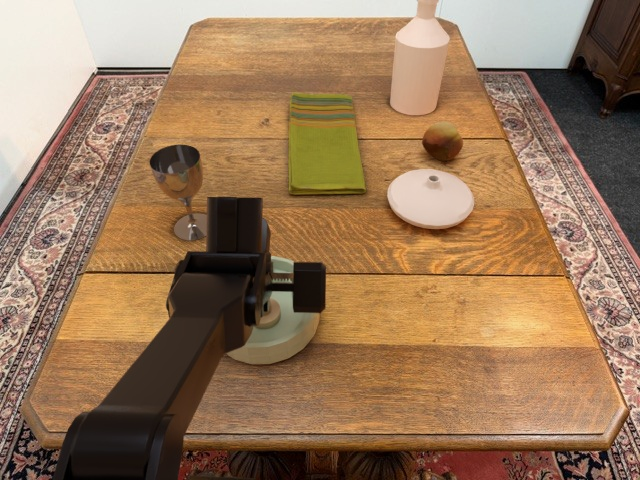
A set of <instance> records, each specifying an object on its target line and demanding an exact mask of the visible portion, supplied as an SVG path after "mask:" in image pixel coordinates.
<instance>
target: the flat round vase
mask: <svg viewBox="0 0 640 480" xmlns="http://www.w3.org/2000/svg"><path fill="white" fill-rule="evenodd" d="M386 195H387V196H386V197H387V200H388V203H389V206H390V208H391V210H392V211H393V212H394V214H395V215H396V216H398V217H399V218H400V219H401V220H403V221H404V222H406V223H408V224H410V225H412V226H414V227H415V226H416V227H419V228H422V229H432V230H440V229H442V230H443V229H449V228H452V227H455V226H457V225H459V224H461V223H462V222H464V221H465V220H466V219H467V217H469V215H470V214H471V213H472V212H473V210H474V208H475V207H474V206H475V198H474V194H473V192H472V191H471V189H470V187H469V186H468V185H467V184H466V183H465V182H464V181H463V180H462V179H461V178H459V177H457V176H455V175H453V174H452V173H449V172H446V171H442V170H439V169H431V168H420V169H413V170H409V171H406V172H404V173H402V174H400V175H398V176H396V178H395V179H393V180H392V181H391V182H390V184H389V185H388V188H387V193H386Z"/></svg>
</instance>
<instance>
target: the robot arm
mask: <svg viewBox="0 0 640 480" xmlns="http://www.w3.org/2000/svg"><path fill="white" fill-rule="evenodd" d="M263 208H264V198H263V197H244V196H243V197H238V196H207V197H206V215H207V227H206V236H205V244H206V245H205V251H201V250H200V251H199V250H187V252H186V254H185V256H184V259H180V260H178V262H177V263H176V264H175V267H174V271H173V272H174V274H173V275H174V276H173V278H172V282H171V284H170V288H169V292H168V293H167V297H166V302H165V309H166V312H167V314H168V320H167V321H166V322H165V323H164V324H163V326H162V327H161V328H160V330H158V332H157V333H156V334H155V336H154V337H153V338H152V339H151V341H149V343H148V344H147V345H146V346H145V348H144V349H143V350H142V351H141V353H140V354H139V355H138V356H137V357H136V359H135V360H134V361H133V362H132V364H131V365H130V366H129V367H128V369H127V370H126V371H125V372H124V373H123V374H122V376H121V377H120V378H119V380H118V381H117V382H116V383H115V385H113V387H112V388H111V390H109V392H108V393H107V394H106V395H105V396H104V398H103V399H102V400H101V401H100V403H99V404H98V405H96V407H94V408H92V409H91V410H88V411H86V410H85V411H81V412H80V413H79V414H78V415H76V416H75V417H74V419H73V420H72V422H71V424H70V425H69V426H68V429H67V431H66V433H65V436H64V438H63V441H62V444H61V447H60V451H59V455H58V459H57V462H56V466H55V469H54V472H53V476H52V479H51V480H179V475H180V471H181V470H180V469H181V463H182V458H183V457H182V455H183V448H184V442H185V441H184V440H185V439H184V437H185V435H186V433H187V431H188V429H189V427H190V424H191V423H192V421H193V418H194V416H195V414H196V412H197V410H198V408H199V406H200V403H201V402H202V400H203V397H204V396H205V393H206V391H207V389H208V387H209V385H210V383H211V381H212V380H213V379H212V378H213V376H214V374H215V373H216V370H217V368H218V366H219V364H220V362H221V360H222V358H223V357H224V355H227V353H229V352H232V351H234V350H237V349H239V348H242V347H243V346H245V344H246V342H247V340H248V339H249V337H250V336H251V334H252V331H253V327H254V326H259V323H260V319H261V317H263V312H268V311H269V299H270V297H271V295H272V291H278V292H292V304H293V312H294V313H319V314H321V313H323V312H324V310H325V309H326V308H327V307H326V306H327V305H326V304H327V303H326V301H327V300H326V298H327V297H326V295H327V266H326V264H324V263H323V262H322V261H294V264H293V273H278V272H273V262H271V256H272V253H271V252H270V249H271V247H270V246H271V236H272V231H271V229H270V225H269V223H268V220H267V219H266V218H265V217H263V214H264V212H263ZM273 278H274V280H275V281H276V279H277V280H278V281H279V279H281V281H282V280H283V279H284V281H285V280H286V279H287V281H289V279H290V281H292V283H283V282H272V281H273ZM187 480H257V478H254V477H234V476H233V477H232V476H231V477H228V476H206V475H205V476H203V475H189V477H188V479H187Z"/></svg>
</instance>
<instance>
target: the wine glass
mask: <svg viewBox="0 0 640 480" xmlns="http://www.w3.org/2000/svg"><path fill="white" fill-rule="evenodd" d="M149 167H150V170H151V173H152V176H153V178H154V181H155V182H156V184H157V186H158V187H159V189H160V190H161V191H162V193H163V194H164V195H165V196H167V197H168V198H170V199H172V200H175V201H178V202H180V203H181V204H182V205H183V206H184V208H185V211H186V212H187V215H184V216H183V217H181V218H179V219H178V220H177V221H176V223H175V225H174V227H173V232H174V235H175V236H176V237H177V238H179V239H180V240H183V241H198V240H200V239H203V238H206V227H207V214H206V213H201V212H199V213H198V212H197V213H194V212H193V205H192V202H193V199H194V198H195V197H196V196H197V194H198V193H199V192H200V190H201V189H202V186H203V181H204V167H203V161H202V157H201V153H200V151H199V150H198V149H197V148H196V147H195V146H193V145H189V144H171V145H168V146H164V147H162V148H160V149H159V150H157V151H155V152H154V153H153V154H152V155H151V157H150V158H149Z"/></svg>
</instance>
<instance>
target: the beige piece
mask: <svg viewBox="0 0 640 480" xmlns="http://www.w3.org/2000/svg"><path fill="white" fill-rule="evenodd" d="M280 318H281V311H280V305H279V304H278V302H277V301H276V300H274V299H272V298H270V299H269V311H268V312H263V317H261V319H260V323H259V326H254V327H256V328H259V329H269V328H271V327H273V326H275V325H276V324H277V323H278V322H279V320H280Z"/></svg>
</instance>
